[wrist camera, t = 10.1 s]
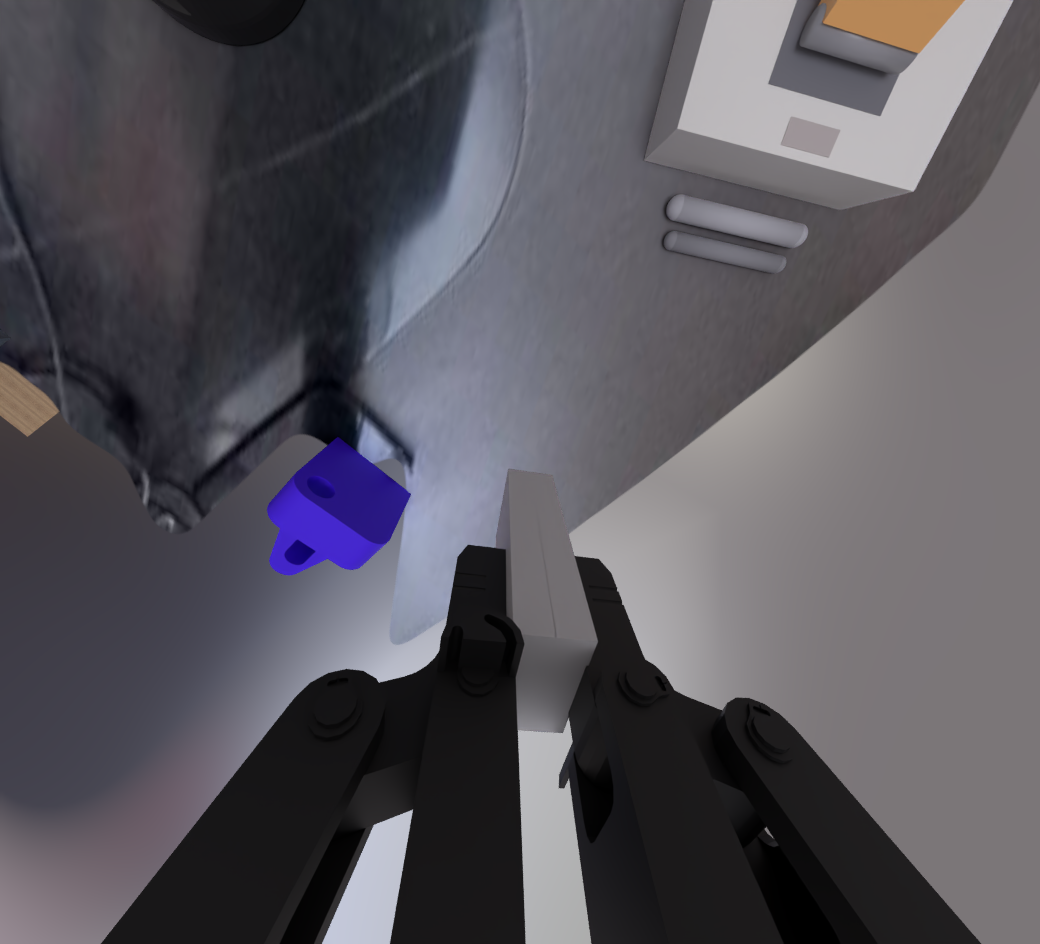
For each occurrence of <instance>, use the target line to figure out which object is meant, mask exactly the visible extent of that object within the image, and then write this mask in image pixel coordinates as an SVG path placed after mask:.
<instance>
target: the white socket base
mask: <svg viewBox="0 0 1040 944" xmlns="http://www.w3.org/2000/svg"><path fill="white" fill-rule="evenodd" d="M820 1H821V0H685V2H684V5H683V9H682V13H681V17H680V21H679V25H678V29H677V33H676V37H675V41H674V44H673V48H672V52H671V56H670V60H669V64H668V68H667V72H666V76H665V80H664V84H663V87H662V91H661V95H660V99H659V103H658V107H657V111H656V115H655V119H654V123H653V126H652V130H651V134H650V138H649V142H648V146H647V150H646V154H645V158H644V161H647V162H651V163H655V164H659V165H663V166H667V167H671V168H675V169H679V170H683V171H687V172H691V173H695V174H699V175H703V176H707V177H711V178H714V179H718V180H722V181H726V182H730V183H734V184H738V185H742V186H746V187H750V188H754V189H758V190H762V191H766V192H770V193H774V194H778V195H782V196H786V197H790V198H794V199H797V200H801V201H805V202H809V203H813V204H817V205H821V206H825V207H829V208H833V209H837V210H843V209H847V208H851V207H855V206H859V205H863V204H867V203H871V202H874V201H878V200H882V199H886V198H890V197H894V196H898V195H902V194H906V193H910V192H914V190H915V188H916V186H917V184H918V182H919V180H920V178H921V177H922V175H923V173H924V171H925V169H926V167H927V165H928V163H929V161H930V159H931V157H932V155H933V154H934V152H935V150H936V148H937V146H938V144H939V142H940V140H941V138H942V136H943V134H944V132H945V131H946V129H947V127H948V125H949V123H950V121H951V119H952V117H953V115H954V113H955V111H956V109H957V107H958V106H959V104H960V102H961V100H962V98H963V96H964V94H965V92H966V90H967V88H968V86H969V84H970V83H971V81H972V79H973V77H974V75H975V73H976V71H977V69H978V67H979V65H980V63H981V61H982V60H983V58H984V56H985V54H986V52H987V50H988V48H989V46H990V44H991V42H992V40H993V38H994V36H995V35H996V33H997V31H998V29H999V27H1000V25H1001V23H1002V21H1003V19H1004V17H1005V15H1006V13H1007V12H1008V10H1009V8H1010V6H1011V4H1012V2H1013V0H965V1H964V2H963V3H962V4H961V5H960V7H959V8H958V9H957V10H956V11H955V12H954V14H953V15H952V16H951V17H950V18H949V19H948V21H947V22H946V23H945V24H944V25H943V26H942V28H941V29H940V30H939V31H938V32H937V33H936V35H935V36H934V37H933V38H932V39H931V40H930V42H929V43H928V44H927V45H926V46H925V47H924V49H923V50H922V51H921V52H920V53H918V55H917V57H916V58H915V59H914V61H913V62H912V63H911V64H910V65H909V66H908V67H907V68H906V69H905V70H904V71H903V72H902V73H900V74H898V75H893V74H889V73H886V72H883V71H880V70H876V69H873V68H870V67H867V66H863V65H860V64H857V63H854V62H850V61H847V60H844V59H841V58H837V57H834V56H831V55H828V54H824V53H821V52H818V51H814V50H811V49H808V48H805V47H801V46H800V44H799V43H800V38H801V34H802V32H803V29H804V27H805V25H806V23H807V21H808V20H809V18H810V16H811V15H812V13H813V12H814V11H815V9H816V8H817V7H818V5H819V3H820Z"/></svg>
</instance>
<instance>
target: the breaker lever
mask: <svg viewBox="0 0 1040 944" xmlns="http://www.w3.org/2000/svg"><path fill="white" fill-rule="evenodd" d="M964 1H965V0H821V1H820V3H819V5H818V7H817V8H816V9H815V11H814V12H813V13H812V15H811V16H810V18H809V20H808V21H807V23H806V25H805V27H804V29H803V32H802V34H801V38H800V43H799V44H800V46H801V47H805V48H808V49H811V50H814V51H818V52H821V53H824V54H828V55H831V56H834V57H837V58H841V59H844V60H847V61H850V62H854V63H857V64H860V65H863V66H867V67H870V68H873V69H876V70H880V71H883V72H886V73H889V74H893V75H898V74H900V73H902V72H903V71H904V70H905V69H906V68H907V67H908V66H909V65H910V64H911V63H912V62H913V61H914V59H915V58H916V57H917V55H918V53H920V52H921V51H922V50H923V49H924V47H925V46H926V45H927V44H928V43H929V42H930V40H931V39H932V38H933V37H934V36H935V35H936V33H937V32H938V31H939V30H940V29H941V28H942V26H943V25H944V24H945V23H946V22H947V21H948V19H949V18H950V17H951V16H952V15H953V14H954V12H955V11H956V10H957V9H958V8H959V7H960V5H961V4H962V3H963V2H964Z"/></svg>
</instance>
